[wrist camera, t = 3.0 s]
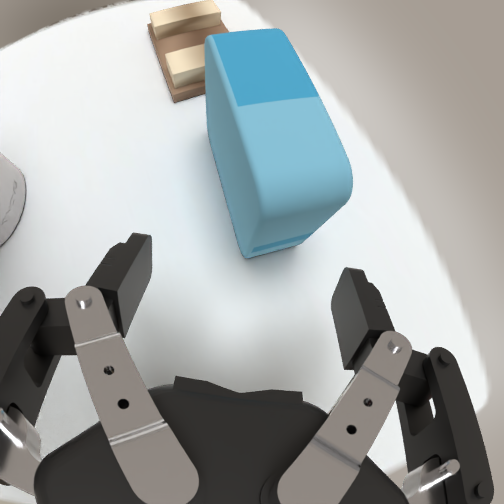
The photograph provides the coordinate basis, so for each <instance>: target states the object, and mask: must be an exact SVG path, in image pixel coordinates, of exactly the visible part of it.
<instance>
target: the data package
mask: <svg viewBox="0 0 504 504" xmlns="http://www.w3.org/2000/svg"><path fill="white" fill-rule="evenodd" d="M204 52H205V89H206V116H207V129H208V135H209V140H210V144H211V148H212V151H213V155H214V159H215V162H216V166H217V170H218V173H219V177H220V181H221V184H222V188H223V191H224V195H225V199H226V202H227V206H228V209H229V213H230V217H231V220H232V224H233V227H234V231H235V234H236V238H237V241H238V245H239V248H240V251H241V253H242V255H243V256H244V257H245V258H251V257H254V256H258V255H262V254H266V253H269V252H273V251H277V250H281V249H284V248H288V247H292V246H296V245H299V244H301V243H303V242H304V241H305V240H306V239H307V238H308V237H309V236H310V235H312V234H313V233H314V232H315V231H316V230H317V229H318V228H319V227H320V226H322V225H323V224H324V223H325V222H326V221H327V220H328V219H329V218H330V217H331V216H333V215H334V214H335V213H336V212H337V211H338V210H339V209H340V208H341V207H342V206H344V205H345V204H346V203H347V202H348V200H349V199H350V196H351V193H352V188H353V176H352V170H351V165H350V162H349V159H348V157H347V155H346V152H345V150H344V148H343V145H342V143H341V141H340V139H339V136H338V134H337V132H336V130H335V128H334V125H333V123H332V121H331V119H330V117H329V115H328V113H327V111H326V109H325V107H324V105H323V102H322V100H321V98H320V96H319V95H318V93H317V91H316V89H315V87H314V85H313V83H312V81H311V79H310V77H309V75H308V73H307V72H306V70H305V68H304V66H303V64H302V62H301V61H300V59H299V57H298V55H297V53H296V52H295V50H294V48H293V46H292V45H291V43H290V42H289V40H288V38H287V37H286V35H285V33H284V32H283V31H282V30H280V29H260V30H247V31H237V32H228V33H220V34H213V35H209V36H207V37H206V39H205V43H204Z"/></svg>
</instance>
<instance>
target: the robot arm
mask: <svg viewBox="0 0 504 504" xmlns="http://www.w3.org/2000/svg"><path fill="white" fill-rule="evenodd" d="M25 192H26V189H25V180H24V177H23V174H22V173H21V171H20V169H19V168H17V167H16V166H15V165H14V164H13V163H12V162H11V161H9V160H8V159H7V158H6V157H5V156H4V155H3V154H2V153H0V245H2V244H3V243H4V242H5V241H6V240H7V239H8V238H9V236H10V235H11V233H12V232H13V231H14V229H15V227H16V225H17V223H18V221H19V219H20V216H21V213H22V210H23V206H24V202H25ZM151 273H152V237H151V235H146V234H140V233H132V235H131V236H130V237H129V239H128V240H127V242H126V243H118V244H117V245H115V246H113V247H112V248H110V250H109V251H108V253H107V254H106V255H105V258H103V260H102V261H101V263H100V264H99V266H98V267H97V269H96V270H95V272H94V273H93V275H92V276H91V278H90V279H89V281H88V282H87V284H86V285H85V286H80V287H77V288H75V289H73V290H71V291H70V292H69V293H68V294H67V296H66V298H53V299H46V297H45V294H44V292H43V291H42V290H41V289H40V288H37V287H26V288H24V289H21V290H20V291H18V292H17V293H16V294H15V295H14V296H13V298H12V299H11V301H10V302H9V304H8V305H7V307H6V308H5V310H4V311H3V313H2V315H1V316H0V484H2V485H6V486H10V485H12V486H14V487H16V488H18V489H20V490H22V491H25V492H27V493H29V494H31V495H33V496H35V498H36V502H37V504H490V503H491V501H492V499H493V495H494V486H493V481H492V476H491V471H490V467H489V463H488V458H487V454H486V450H485V446H484V442H483V439H482V435H481V431H480V428H479V425H478V421H477V418H476V414H475V411H474V408H473V405H472V402H471V399H470V396H469V393H468V390H467V387H466V385H465V382H464V379H463V376H462V374H461V371H460V368H459V366H458V363H457V361H456V359H455V357H454V356H453V354H452V353H451V352H449V351H448V350H446V349H444V348H442V347H435V348H433V349H432V350H431V351H430V353H429V354H428V355H427V354H424V353H421V352H418V351H415V350H412V346H411V344H410V342H409V341H408V339H407V338H406V337H405V336H403V335H402V334H400V333H398V332H395V329H394V327H393V324H392V322H391V319H390V316H389V314H388V311H387V309H386V306H385V304H384V302H383V299H382V297H381V294H380V292H379V290H378V289H377V288H376V287H375V286H374V285H373V284H372V283H369V282H368V280H367V278H366V276H365V273H364V271H363V270H361V269H354V268H348V267H346V268H344V270H343V272H342V274H341V277H340V279H339V282H338V284H337V286H336V289H335V291H334V294H333V296H332V301H331V310H332V315H333V319H334V324H335V328H336V333H337V338H338V342H339V347H340V352H341V357H342V362H343V367H344V370H354V372H355V375H354V376H353V378H352V379H351V381H350V382H349V384H348V385H347V387H346V388H345V390H344V391H343V393H342V394H341V395H340V397H339V398H338V400H337V401H336V403H335V404H334V405H333V407H332V408H331V409H330V411H329V412H328V413H326V412H324V411H323V410H321V409H320V408H318V407H317V406H315V405H313V404H310V403H308V402H305V401H303V397H302V392H297V391H284V390H264V391H255V392H246V393H238V392H234V391H232V390H229V389H226V388H223V387H221V386H218V385H215V384H213V383H210V382H207V381H202V380H196V379H190V378H185V377H179V376H176V377H175V381H174V385H163V386H158V387H154V388H151V389H149V390H147V389H146V387H145V385H144V383H143V381H142V379H141V377H140V375H139V373H138V371H137V369H136V367H135V364H134V362H133V360H132V358H131V356H130V354H129V352H128V349H127V347H126V345H125V343H124V341H123V338H125V336H126V334H127V332H128V329H129V327H130V324H131V322H132V320H133V317H134V315H135V313H136V310H137V308H138V306H139V303H140V301H141V299H142V297H143V294H144V292H145V290H146V288H147V285H148V283H149V281H150V278H151ZM61 355H77V356H78V359H79V363H80V366H81V369H82V372H83V375H84V378H85V381H86V384H87V387H88V390H89V393H90V395H91V398H92V401H93V403H94V406H95V409H96V411H97V414H98V416H99V419H100V421H99V422H98V423H96V424H95V425H93V426H92V427H90V428H88V429H87V430H85V431H84V432H82V433H81V434H79V435H78V436H76V437H75V438H73V439H71V440H70V441H68V442H67V443H65V444H64V445H62V446H60V447H59V448H57V449H56V450H54V451H52V452H51V453H49V454H48V455H47V456H46V457H45V458H44V459H43V460H42V459H41V455H40V447H41V439H40V436H39V433H38V431H37V430H36V429H35V428H34V426H35V423H36V420H37V417H38V414H39V412H40V409H41V406H42V403H43V401H44V398H45V395H46V392H47V390H48V387H49V385H50V382H51V380H52V377H53V375H54V372H55V370H56V367H57V365H58V363H59V360H60V358H61ZM431 398H433V402H434V406H435V410H436V414H435V418H433V414H432V410H431V406H430V402H429V400H430V399H431ZM395 400H396V404H397V409H398V414H399V419H400V424H401V430H402V436H403V442H404V448H405V454H406V461H407V468H408V474H407V476H406V477H405V479H404V481H403V487H402V488H401V489H400V488H399V487H398V486H397V485H396V484H394V482H393V481H392V480H390V479H389V477H388V476H387V475H386V474H385V473H384V472H383V471H382V470H381V469H380V468H379V467H378V466H377V465H376V464H375V463H374V462H373V461H372V460H371V459H370V458H369V457H368V456H367V453H368V451H369V449H370V448H371V446H372V444H373V442H374V441H375V439H376V437H377V435H378V433H379V431H380V429H381V428H382V426H383V424H384V422H385V420H386V418H387V416H388V414H389V412H390V410H391V408H392V406H393V404H394V402H395Z"/></svg>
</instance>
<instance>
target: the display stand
mask: <svg viewBox="0 0 504 504" xmlns="http://www.w3.org/2000/svg"><path fill="white" fill-rule="evenodd" d="M150 19H151V23H150V24H147V25H148V30H149V34H150V37H151V39H152V42H153V45H154V48H155V51H156V54H157V56H158V59H159V62H160V65H161V68H162V70H163V73H164V76H165V79H166V82H167V84H168V87H169V90H170V93H171V95H172V98H173V101H174V103H175V102H179V101H182V100H185V99H188V98H192V97H195V96H199V95H202V94H206V89H205V52H204V43H205V39H206V37H207V36H209V35H213V34H220V33H228V32H229V31H228V30H227V28H226V27H225V25H224V24H223V22H222V21H221V11H220V10H219V8H218V7H217V6H216V4H215V3H214V1H213V0H206V1H200V2H195V3H190V4H186V5H181V6H177V7H173V8H169V9H165V10H161V11H157V12H153V13H150Z"/></svg>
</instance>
